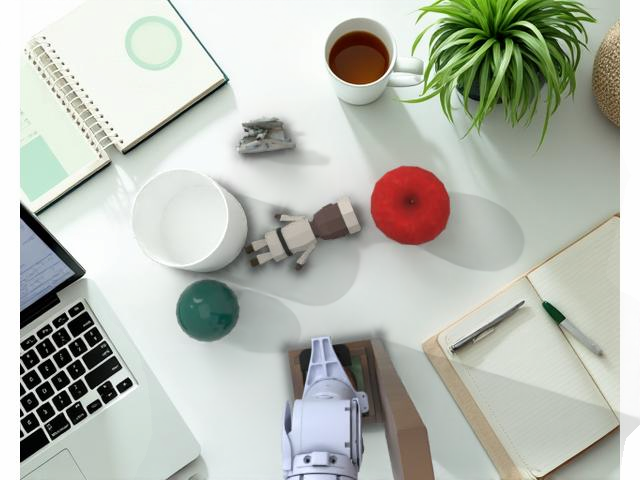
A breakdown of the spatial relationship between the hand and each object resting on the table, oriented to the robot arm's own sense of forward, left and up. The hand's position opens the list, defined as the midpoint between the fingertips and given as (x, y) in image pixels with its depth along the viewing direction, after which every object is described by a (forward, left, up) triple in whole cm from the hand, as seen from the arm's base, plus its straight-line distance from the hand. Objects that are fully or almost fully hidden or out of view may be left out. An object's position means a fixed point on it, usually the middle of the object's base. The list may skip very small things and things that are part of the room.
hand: (333, 393), depth 74 cm
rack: (0, -1, -7) cm, 7 cm away
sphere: (+12, +14, -7) cm, 20 cm away
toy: (+20, +1, -7) cm, 21 cm away
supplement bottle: (0, 0, -6) cm, 6 cm away
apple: (+21, -13, -7) cm, 25 cm away
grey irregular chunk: (+34, +4, -7) cm, 35 cm away
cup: (+23, +14, -7) cm, 28 cm away
